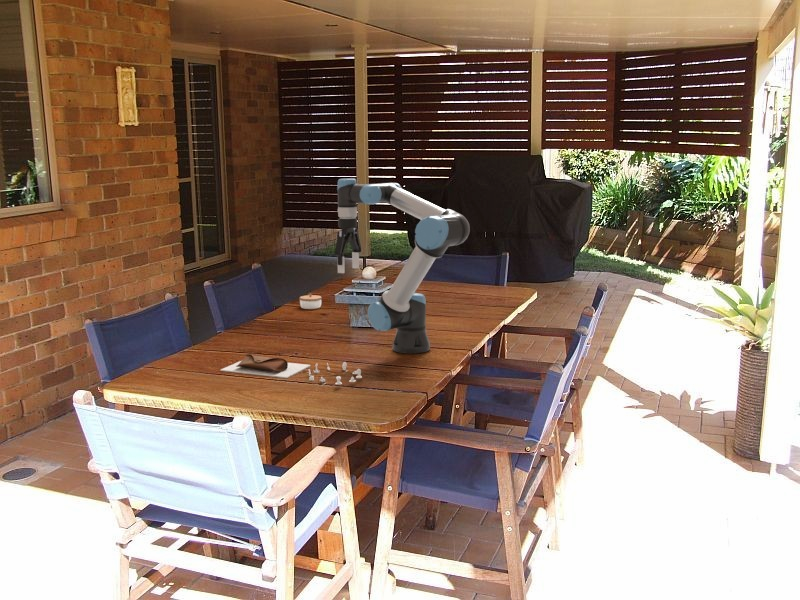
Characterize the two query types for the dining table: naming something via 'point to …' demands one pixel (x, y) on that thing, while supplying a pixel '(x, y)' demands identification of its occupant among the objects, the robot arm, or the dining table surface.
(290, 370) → the rubber mat
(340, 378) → the game piece set
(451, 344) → the dining table surface
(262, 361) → the sunglasses case
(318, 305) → the lidded jar
